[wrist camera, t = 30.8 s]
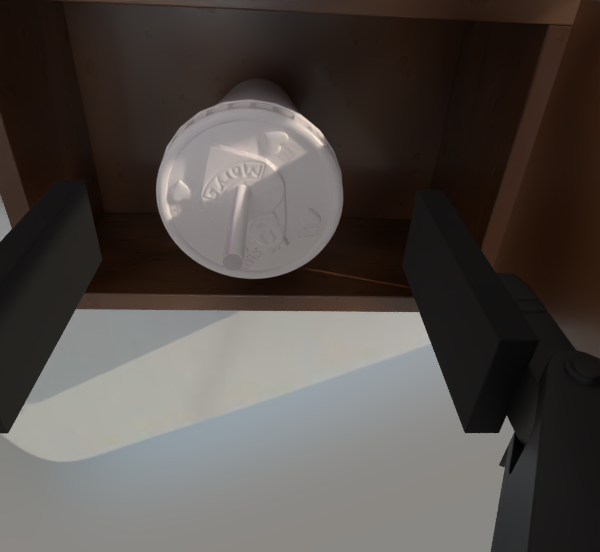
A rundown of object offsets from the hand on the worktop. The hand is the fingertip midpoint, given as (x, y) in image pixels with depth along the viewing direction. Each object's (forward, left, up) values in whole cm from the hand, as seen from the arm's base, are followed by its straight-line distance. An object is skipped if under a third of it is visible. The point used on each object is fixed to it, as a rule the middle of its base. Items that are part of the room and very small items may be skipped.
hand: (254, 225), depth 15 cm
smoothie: (0, 0, -12) cm, 12 cm away
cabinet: (0, 0, -12) cm, 12 cm away
